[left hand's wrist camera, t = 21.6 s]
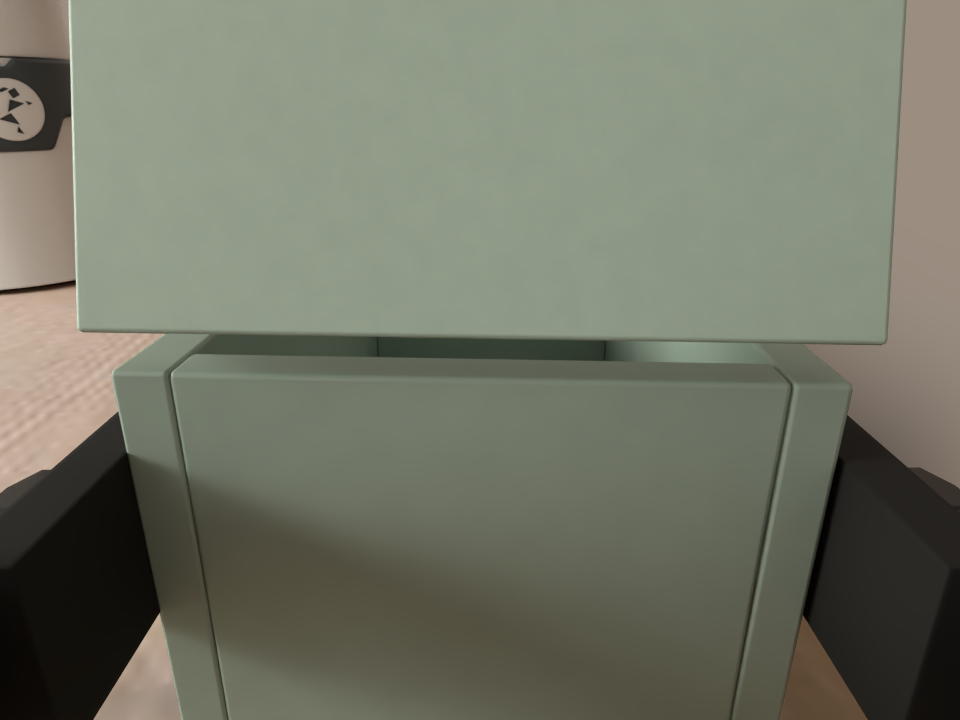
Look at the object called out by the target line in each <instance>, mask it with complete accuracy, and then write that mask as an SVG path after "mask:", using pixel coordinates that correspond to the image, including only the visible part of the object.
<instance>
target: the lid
mask: <svg viewBox="0 0 960 720" xmlns="http://www.w3.org/2000/svg"><path fill="white" fill-rule="evenodd" d="M906 3H907V0H69V35H70V74H71V113H72V151H73V190H74V228H75V267H76V305H77V328H78V330H80V331H82V332H103V333H164V334H226V335H287V336H349V337H410V338H472V339H533V340H595V341H657V342H718V343H780V344H842V345H882V344H885V343H886V342H887V337H888V319H889V302H890V285H891V267H892V249H893V232H894V214H895V196H896V179H897V161H898V144H899V126H900V108H901V90H902V73H903V56H904V38H905V20H906Z"/></svg>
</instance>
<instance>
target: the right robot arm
mask: <svg viewBox="0 0 960 720" xmlns="http://www.w3.org/2000/svg"><path fill="white" fill-rule="evenodd" d="M72 280H76V267H75V228H74V190H73V151H72V113H71V74H70V43H69V38H68V34H67V28H66V23H65V18H64V13H63V8H62V3H61V0H0V290H6V289H16V288H25V287H33V286H41V285H48V284H55V283H61V282H67V281H72Z"/></svg>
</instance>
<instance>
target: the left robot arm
mask: <svg viewBox="0 0 960 720" xmlns="http://www.w3.org/2000/svg"><path fill="white" fill-rule="evenodd" d="M159 613H160V607H159V602H158V597H157V593H156V588H155V583H154V578H153V574H152V569H151V564H150V559H149V555H148V550H147V545H146V540H145V536H144V531H143V526H142V521H141V516H140V512H139V507H138V502H137V497H136V493H135V488H134V483H133V478H132V474H131V469H130V464H129V459H128V455H127V451H126V446H125V441H124V436H123V431H122V426H121V421H120V416H119V412H117V413H116V414H115V415H114V416H113V417H111V418H110V419H109V420H108V421H107V422H106V423H104V424H103V425H102V426H101V427H100V428H99V429H98V430H96V431H95V432H94V433H93V434H92V435H91V436H89V437H88V438H87V439H86V440H85V441H84V442H83V443H81V444H80V445H79V446H78V447H77V448H76V449H75V450H73V451H72V452H71V453H70V454H69V455H68V456H66V457H65V458H64V459H63V460H62V461H61V462H60V463H58V464H57V465H56V466H55V467H54V468H53V469H52V470H41V471H39V472H37V473H35V474H33V475H31V476H29V477H27V478H25V479H23V480H22V481H20V482H18V483H16V484H14V485H12V486H10V487H8V488H6V489H5V490H4V491H3V492H1V493H0V720H93V719H94V717H95V716H96V714H97V713H98V711H99V709H100V708H101V706H102V704H103V703H104V701H105V700H106V698H107V696H108V695H109V693H110V692H111V690H112V688H113V687H114V685H115V684H116V682H117V680H118V679H119V677H120V676H121V674H122V672H123V671H124V669H125V667H126V666H127V664H128V663H129V661H130V659H131V658H132V656H133V655H134V653H135V651H136V650H137V648H138V647H139V645H140V643H141V642H142V640H143V639H144V637H145V635H146V634H147V632H148V630H149V629H150V627H151V626H152V624H153V622H154V621H155V619H156V618H157V616H158V614H159ZM803 616H804V617H805V619H806V620H807V622H808V624H809V625H810V627H811V629H812V630H813V632H814V633H815V635H816V637H817V638H818V640H819V641H820V643H821V645H822V646H823V648H824V649H825V651H826V653H827V654H828V656H829V658H830V659H831V661H832V662H833V664H834V666H835V667H836V669H837V670H838V672H839V674H840V675H841V677H842V678H843V680H844V682H845V683H846V685H847V686H848V688H849V690H850V691H851V693H852V695H853V696H854V698H855V699H856V701H857V703H858V704H859V706H860V707H861V709H862V711H863V712H864V714H865V715H866V717H867V719H868V720H960V489H959V488H958V487H956V486H955V485H953V484H951V483H949V482H947V481H945V480H943V479H941V478H939V477H937V476H935V475H933V474H931V473H929V472H927V471H925V470H923V469H921V468H908V467H906V466H905V465H904V464H903V463H902V462H901V461H899V460H898V459H897V458H896V457H895V456H894V455H893V454H891V453H890V452H889V451H888V450H887V449H886V448H884V447H883V446H882V445H881V444H880V443H879V442H878V441H876V440H875V439H874V438H873V437H872V436H871V435H870V434H868V433H867V432H866V431H865V430H864V429H863V428H861V427H860V426H859V425H858V424H857V423H856V422H855V421H853V420H852V419H851V418H850V417H849V416H848V415H847V417H846V422H845V426H844V431H843V435H842V440H841V444H840V449H839V453H838V458H837V462H836V467H835V471H834V476H833V480H832V485H831V489H830V494H829V498H828V503H827V507H826V512H825V516H824V521H823V525H822V530H821V534H820V539H819V543H818V548H817V552H816V557H815V561H814V566H813V570H812V575H811V579H810V584H809V588H808V593H807V597H806V602H805V606H804V611H803Z"/></svg>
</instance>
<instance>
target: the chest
mask: <svg viewBox="0 0 960 720" xmlns="http://www.w3.org/2000/svg"><path fill="white" fill-rule="evenodd" d="M111 377H112V382H113V387H114V392H115V397H116V402H117V407H118V412H119V416H120V421H121V426H122V431H123V436H124V441H125V446H126V451H127V455H128V459H129V464H130V469H131V474H132V478H133V483H134V488H135V493H136V497H137V502H138V507H139V512H140V516H141V521H142V526H143V531H144V536H145V540H146V545H147V550H148V555H149V559H150V564H151V569H152V574H153V578H154V583H155V588H156V593H157V597H158V602H159V607H160V616H161V621H162V626H163V631H164V636H165V641H166V646H167V651H168V655H169V660H170V665H171V670H172V675H173V680H174V685H175V690H176V694H177V699H178V704H179V709H180V714H181V719H182V720H779V719H780V714H781V710H782V705H783V701H784V696H785V692H786V687H787V683H788V678H789V674H790V669H791V665H792V660H793V656H794V651H795V647H796V642H797V638H798V633H799V629H800V624H801V620H802V615H803V611H804V606H805V602H806V597H807V593H808V588H809V584H810V579H811V575H812V570H813V566H814V561H815V557H816V552H817V548H818V543H819V539H820V534H821V530H822V525H823V521H824V516H825V512H826V507H827V503H828V498H829V494H830V489H831V485H832V480H833V476H834V471H835V467H836V462H837V458H838V453H839V449H840V444H841V440H842V435H843V431H844V426H845V422H846V417H847V413H848V408H849V404H850V399H851V395H852V385H851V384H850V383H849V382H848V381H847V380H845V379H844V378H843V377H842V376H841V375H839V374H838V373H837V372H836V371H834V370H833V369H832V368H831V367H830V366H828V365H827V364H826V363H825V362H824V361H822V360H821V359H820V358H819V357H818V356H816V355H815V354H814V353H813V352H812V351H810V350H809V349H808V348H807V347H806V346H804V345H803V344H780V343H718V342H657V341H595V340H533V339H472V338H410V337H349V336H287V335H226V334H165V335H163V336H162V337H160V338H159V339H158V340H156V341H155V342H153V343H152V344H150V345H149V346H148V347H146V348H145V349H143V350H142V351H141V352H139V353H138V354H136V355H135V356H133V357H132V358H131V359H129V360H128V361H126V362H125V363H124V364H122V365H121V366H119V367H118V368H116V369H115V370H114V371H112V374H111Z"/></svg>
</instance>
